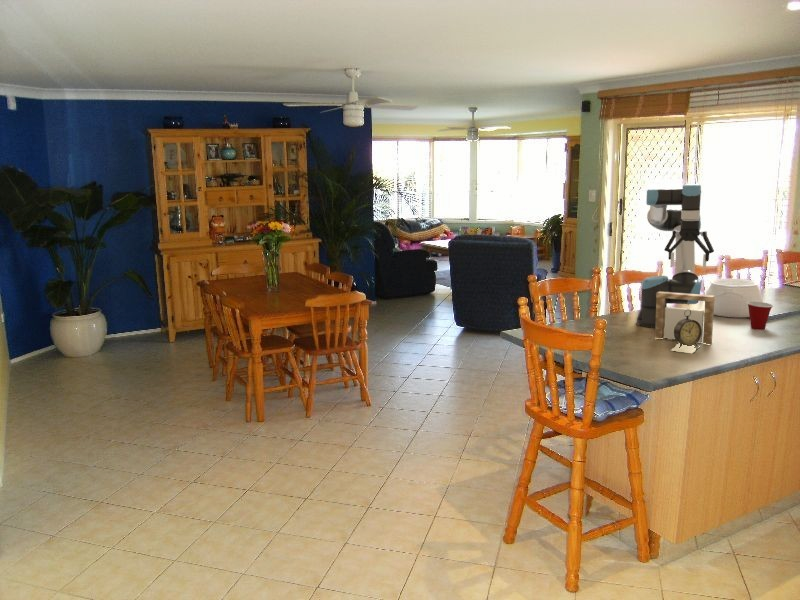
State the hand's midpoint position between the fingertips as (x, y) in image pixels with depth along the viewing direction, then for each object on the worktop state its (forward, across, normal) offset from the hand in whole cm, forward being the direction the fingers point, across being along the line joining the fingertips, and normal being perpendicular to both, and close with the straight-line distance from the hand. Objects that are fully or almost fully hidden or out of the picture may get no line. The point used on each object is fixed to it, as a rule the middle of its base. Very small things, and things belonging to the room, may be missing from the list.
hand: (688, 267), depth 305 cm
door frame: (+31, -2, +12) cm, 33 cm away
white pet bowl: (+31, -10, -55) cm, 64 cm away
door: (+30, -2, +12) cm, 33 cm away
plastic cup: (+31, -26, -27) cm, 49 cm away
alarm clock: (+30, -6, +24) cm, 39 cm away
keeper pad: (+31, -6, +24) cm, 39 cm away
